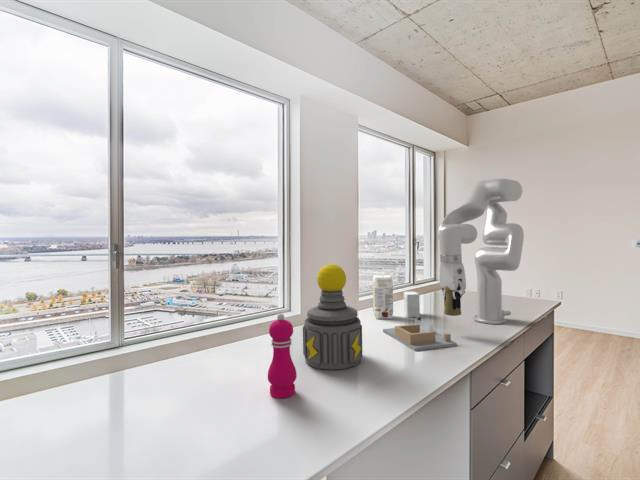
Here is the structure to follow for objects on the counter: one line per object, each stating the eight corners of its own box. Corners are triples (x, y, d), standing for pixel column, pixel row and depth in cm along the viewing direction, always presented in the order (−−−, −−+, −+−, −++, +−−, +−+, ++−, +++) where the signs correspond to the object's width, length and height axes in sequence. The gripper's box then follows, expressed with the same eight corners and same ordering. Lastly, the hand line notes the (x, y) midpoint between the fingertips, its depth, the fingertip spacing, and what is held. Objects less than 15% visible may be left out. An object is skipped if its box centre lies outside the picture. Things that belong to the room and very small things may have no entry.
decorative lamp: (336, 377, 101) (334, 268, 100) (290, 361, 113) (288, 265, 112) (375, 358, 114) (373, 263, 114) (330, 346, 127) (328, 260, 126)
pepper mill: (285, 402, 86) (283, 318, 86) (262, 395, 90) (260, 315, 90) (302, 390, 93) (300, 312, 92) (280, 384, 96) (278, 309, 96)
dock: (419, 327, 148) (419, 316, 148) (456, 345, 125) (456, 332, 125) (383, 331, 144) (382, 320, 143) (414, 351, 120) (414, 337, 120)
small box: (419, 317, 165) (419, 294, 165) (407, 317, 165) (407, 294, 165) (415, 313, 173) (415, 291, 173) (403, 313, 173) (403, 291, 173)
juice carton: (394, 319, 163) (393, 276, 162) (374, 319, 163) (374, 277, 162) (391, 315, 170) (390, 274, 170) (372, 315, 170) (372, 275, 170)
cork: (462, 311, 138) (461, 283, 137) (460, 316, 132) (459, 286, 132) (445, 310, 140) (444, 282, 140) (443, 315, 135) (442, 285, 134)
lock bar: (418, 326, 147) (418, 315, 146) (433, 332, 137) (432, 321, 137) (415, 326, 146) (415, 316, 146) (429, 333, 137) (429, 322, 136)
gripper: (474, 260, 128) (476, 311, 129) (446, 256, 144) (447, 301, 145) (456, 262, 126) (458, 314, 127) (429, 257, 142) (431, 304, 143)
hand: (452, 307), depth 136 cm, fingers closed on cork, 4 cm apart
